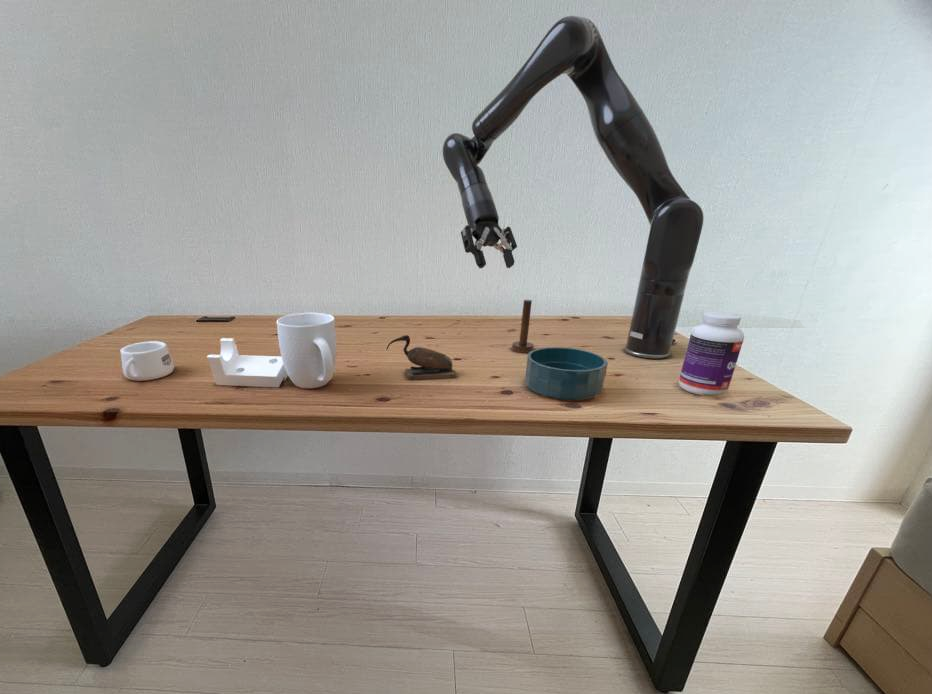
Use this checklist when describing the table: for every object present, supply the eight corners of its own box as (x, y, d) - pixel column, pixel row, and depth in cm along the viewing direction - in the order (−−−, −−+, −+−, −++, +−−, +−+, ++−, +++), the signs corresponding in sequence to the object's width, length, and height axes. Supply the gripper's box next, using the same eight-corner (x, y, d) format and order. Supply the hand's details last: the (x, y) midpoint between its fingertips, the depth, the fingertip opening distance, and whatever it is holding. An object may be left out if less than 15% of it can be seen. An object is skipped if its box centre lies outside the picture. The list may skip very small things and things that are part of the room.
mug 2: (358, 391, 87) (355, 324, 82) (304, 404, 82) (297, 334, 76) (324, 369, 99) (320, 309, 93) (275, 380, 93) (267, 317, 88)
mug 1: (141, 366, 102) (135, 340, 100) (183, 366, 102) (177, 340, 99) (107, 386, 91) (98, 357, 89) (153, 386, 91) (146, 357, 88)
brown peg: (515, 346, 114) (520, 297, 109) (535, 348, 111) (541, 299, 106) (508, 351, 110) (513, 301, 105) (529, 354, 107) (535, 303, 102)
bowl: (535, 370, 97) (539, 343, 95) (607, 382, 90) (612, 353, 88) (514, 392, 86) (517, 362, 84) (594, 408, 79) (600, 376, 77)
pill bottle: (727, 401, 81) (752, 322, 75) (675, 392, 85) (696, 316, 79) (725, 387, 88) (749, 312, 82) (678, 379, 92) (696, 308, 86)
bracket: (217, 388, 92) (206, 357, 87) (231, 368, 97) (221, 338, 93) (279, 391, 90) (271, 359, 86) (290, 370, 96) (283, 339, 91)
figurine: (387, 380, 92) (387, 339, 89) (385, 373, 97) (385, 333, 93) (455, 377, 94) (457, 336, 90) (450, 370, 98) (452, 330, 94)
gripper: (463, 196, 108) (481, 258, 105) (510, 199, 114) (529, 258, 111) (448, 216, 114) (465, 275, 111) (493, 218, 120) (510, 273, 117)
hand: (497, 266), depth 111 cm, fingers open, 8 cm apart
